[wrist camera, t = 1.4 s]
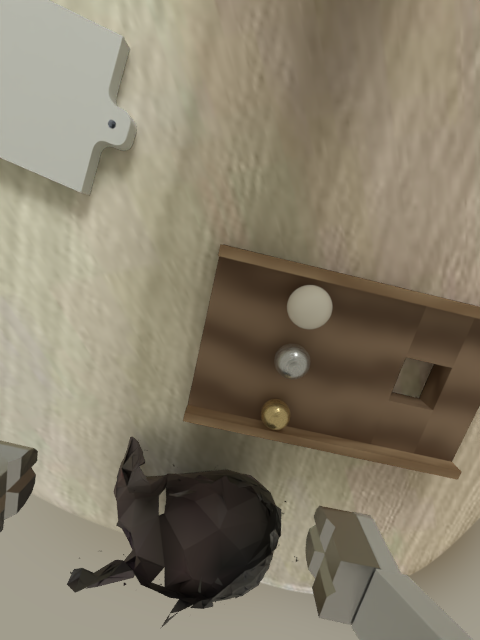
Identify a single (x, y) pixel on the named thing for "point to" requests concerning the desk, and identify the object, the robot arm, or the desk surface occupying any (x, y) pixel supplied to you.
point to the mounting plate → (60, 92)
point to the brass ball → (275, 414)
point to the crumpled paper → (190, 533)
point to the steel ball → (292, 361)
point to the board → (337, 364)
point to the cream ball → (309, 307)
